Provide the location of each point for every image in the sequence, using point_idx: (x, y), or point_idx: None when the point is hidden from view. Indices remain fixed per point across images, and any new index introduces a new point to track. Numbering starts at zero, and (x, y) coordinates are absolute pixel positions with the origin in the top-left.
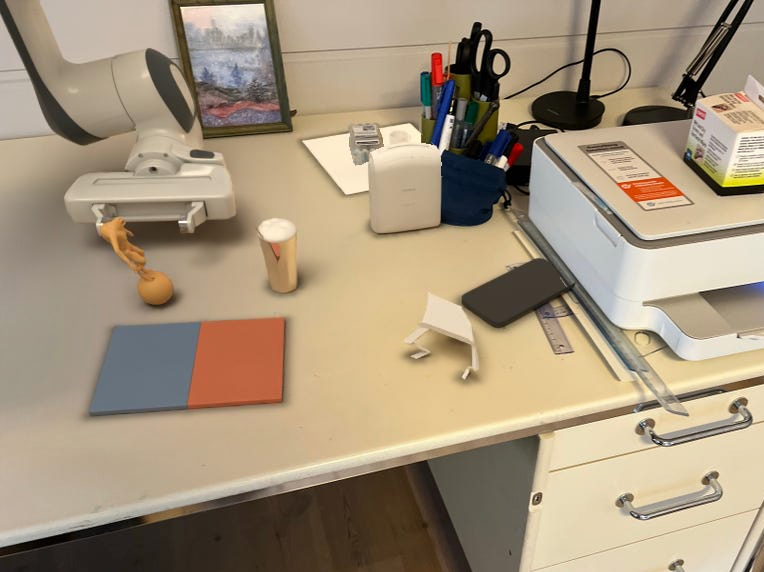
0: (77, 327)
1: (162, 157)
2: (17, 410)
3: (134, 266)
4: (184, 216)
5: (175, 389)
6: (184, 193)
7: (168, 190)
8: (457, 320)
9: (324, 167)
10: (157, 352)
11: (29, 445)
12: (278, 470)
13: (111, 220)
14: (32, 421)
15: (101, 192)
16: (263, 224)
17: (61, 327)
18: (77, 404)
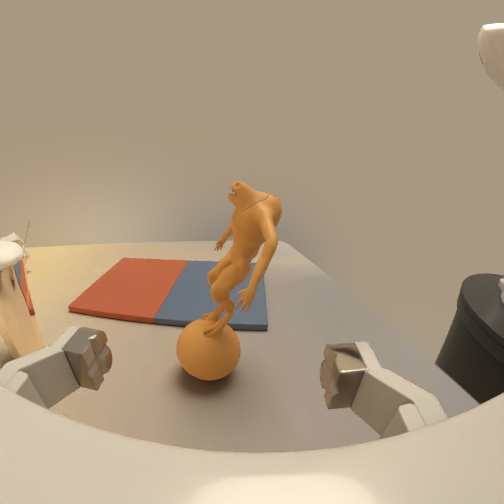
0: (321, 337)
1: None
2: (320, 274)
3: (220, 239)
4: (74, 344)
5: (195, 268)
6: (3, 404)
7: (46, 471)
8: (4, 238)
9: None
10: (210, 293)
11: (295, 259)
12: (147, 242)
13: (335, 379)
14: (303, 268)
15: (468, 461)
16: (3, 250)
17: (342, 337)
18: (276, 274)
